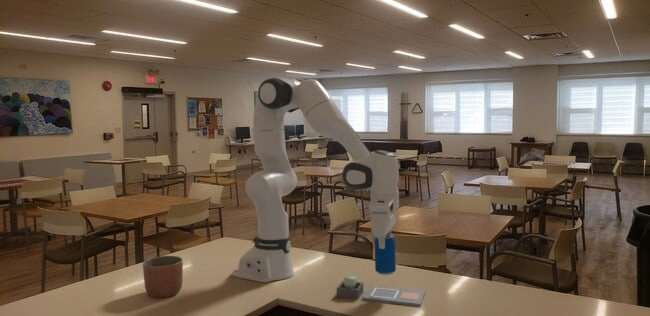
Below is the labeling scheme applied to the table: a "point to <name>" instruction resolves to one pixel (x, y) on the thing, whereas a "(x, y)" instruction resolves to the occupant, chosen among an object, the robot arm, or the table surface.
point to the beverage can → (385, 256)
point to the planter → (163, 275)
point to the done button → (350, 282)
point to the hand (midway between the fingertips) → (384, 245)
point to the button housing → (350, 291)
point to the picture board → (394, 295)
